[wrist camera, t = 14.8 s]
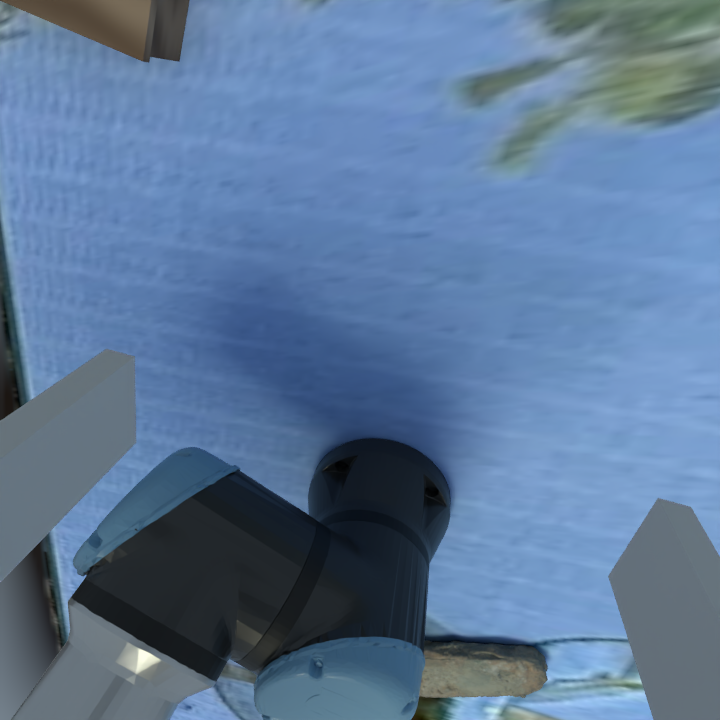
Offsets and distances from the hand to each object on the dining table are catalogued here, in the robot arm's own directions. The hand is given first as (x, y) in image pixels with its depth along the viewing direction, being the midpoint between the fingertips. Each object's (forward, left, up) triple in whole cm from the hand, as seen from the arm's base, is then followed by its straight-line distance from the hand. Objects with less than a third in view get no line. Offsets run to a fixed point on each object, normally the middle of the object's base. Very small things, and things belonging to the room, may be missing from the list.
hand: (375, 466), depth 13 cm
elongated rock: (-56, -12, -33) cm, 66 cm away
